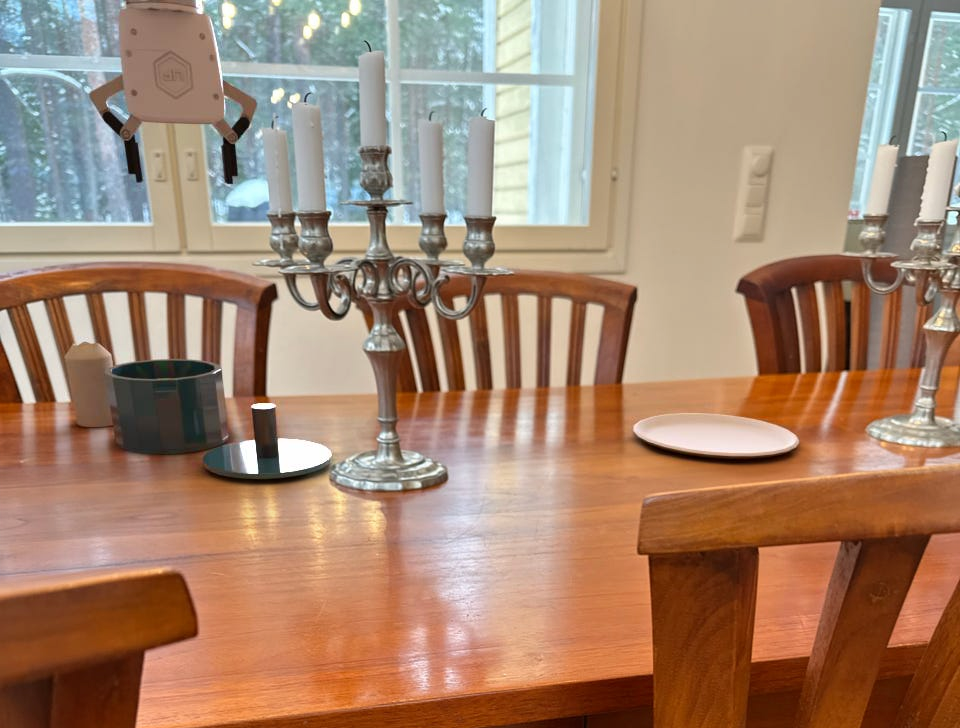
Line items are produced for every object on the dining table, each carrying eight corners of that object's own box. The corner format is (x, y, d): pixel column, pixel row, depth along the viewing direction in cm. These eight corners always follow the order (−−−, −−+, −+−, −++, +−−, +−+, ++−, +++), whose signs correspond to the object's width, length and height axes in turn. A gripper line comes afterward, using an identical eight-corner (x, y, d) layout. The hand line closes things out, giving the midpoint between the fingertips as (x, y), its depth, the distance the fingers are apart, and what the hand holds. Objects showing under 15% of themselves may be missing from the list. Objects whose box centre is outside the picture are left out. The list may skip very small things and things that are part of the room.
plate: (669, 467, 104) (670, 457, 103) (609, 423, 122) (610, 414, 121) (830, 460, 108) (832, 450, 107) (750, 419, 126) (751, 410, 125)
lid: (207, 489, 94) (199, 425, 90) (200, 452, 105) (193, 395, 102) (342, 478, 98) (339, 417, 94) (321, 445, 110) (317, 389, 106)
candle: (77, 429, 114) (62, 347, 109) (76, 419, 118) (61, 340, 114) (123, 425, 116) (110, 345, 111) (120, 416, 120) (107, 338, 116)
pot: (114, 464, 101) (101, 387, 97) (118, 424, 116) (107, 357, 112) (234, 456, 104) (226, 382, 101) (223, 419, 120) (216, 353, 116)
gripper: (70, -16, 87) (101, 182, 95) (252, -2, 92) (267, 185, 100) (75, -3, 93) (104, 181, 101) (245, 9, 98) (259, 184, 106)
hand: (185, 183), depth 100 cm, fingers open, 9 cm apart
